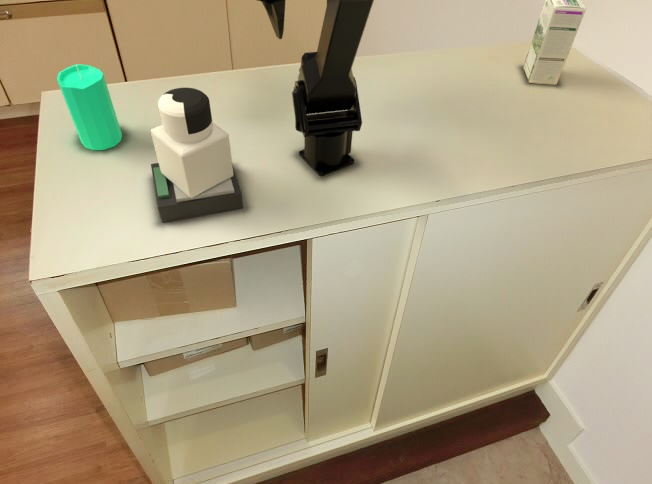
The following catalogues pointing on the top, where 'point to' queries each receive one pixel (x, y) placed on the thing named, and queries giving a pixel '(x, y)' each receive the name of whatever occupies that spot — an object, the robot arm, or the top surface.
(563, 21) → the syrup box
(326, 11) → the robot arm
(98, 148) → the candle
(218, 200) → the scale
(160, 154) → the medicine bottle
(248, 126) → the top surface
